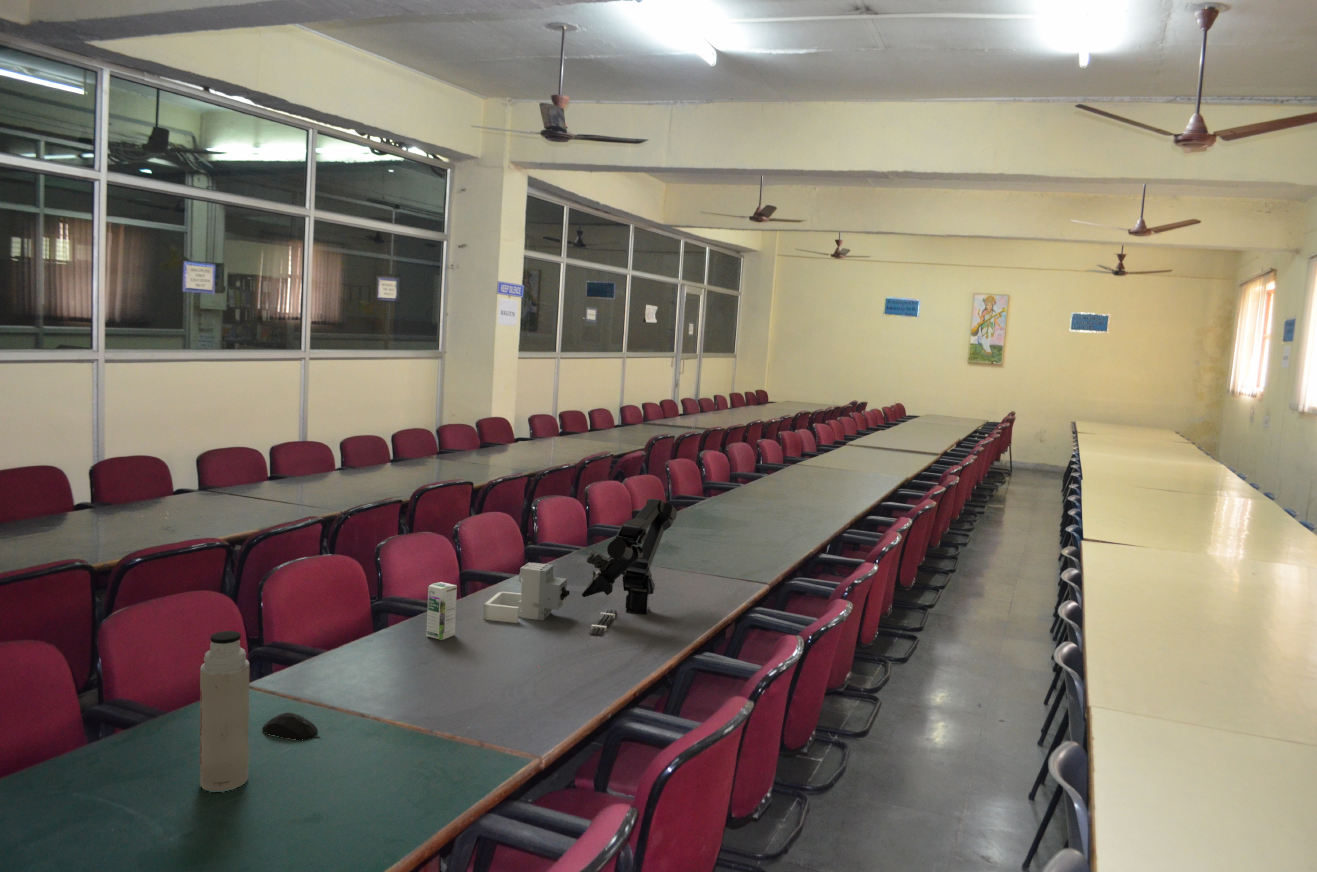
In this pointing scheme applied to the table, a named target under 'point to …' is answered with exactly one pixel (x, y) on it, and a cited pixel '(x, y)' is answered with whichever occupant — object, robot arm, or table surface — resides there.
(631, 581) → the robot arm
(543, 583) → the circuit breaker
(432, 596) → the syrup box
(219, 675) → the thermos bottle
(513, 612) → the mounting bay
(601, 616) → the dressed cords
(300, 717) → the gaming mouse
